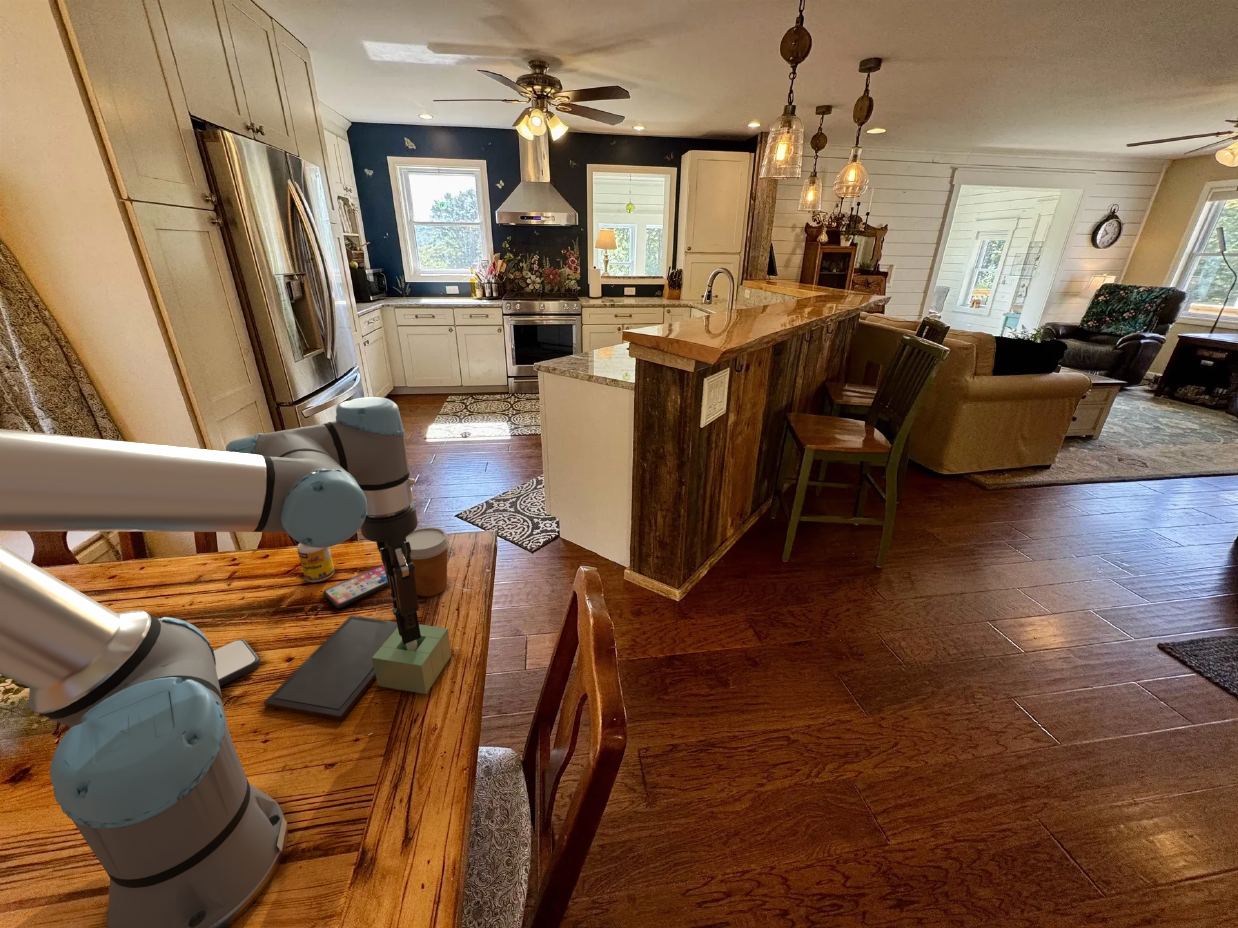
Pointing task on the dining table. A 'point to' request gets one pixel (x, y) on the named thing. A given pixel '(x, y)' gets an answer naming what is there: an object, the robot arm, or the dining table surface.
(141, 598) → the dining table surface
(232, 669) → the phone case
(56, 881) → the dining table surface
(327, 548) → the supplement bottle
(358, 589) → the smartphone
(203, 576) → the dining table surface
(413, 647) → the stylus
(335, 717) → the tablet
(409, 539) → the disposable coffee cup
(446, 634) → the pen stand
